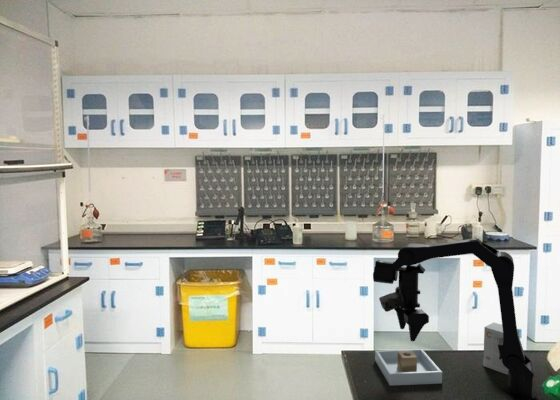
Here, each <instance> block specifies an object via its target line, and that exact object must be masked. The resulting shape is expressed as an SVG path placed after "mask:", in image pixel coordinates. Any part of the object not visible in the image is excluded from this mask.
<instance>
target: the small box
mask: <svg viewBox="0 0 560 400" xmlns="http://www.w3.org/2000/svg"><path fill="white" fill-rule="evenodd" d="M483 330H484V331H483V336H484V337H483V360H482V362H483V366H482V367H484V368H488V369H490V370H493V371H496V372H499V373H501V374H505V375H506V376H508V370H509V369H507V368H506V367H505V366H504V365H503V363H502V359H501V360H499V349H498V340H497V338H498V337H499V338H503V327H502V323H501V324H500V323H497V322H492V323H490V324H488V325H486V326H484V328H483ZM517 333H518V336H519V337H520V335H519V334H520V329H519V328H517Z"/></svg>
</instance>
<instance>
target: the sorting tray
mask: <svg viewBox="0 0 560 400" xmlns="http://www.w3.org/2000/svg"><path fill="white" fill-rule="evenodd" d="M398 351H412V352H413V353H414V354H415V355H416V357H417V372H401V371H400V370H399V368H398V367H397V361H398ZM374 357H375V358H374V360H375V363H376V365H377V367H378V368H379V370H380V371H381V374H382V375H383V376H384V378H385V380H386V382H387V384H388V385H389V386H409V385H410V386H413V385H415V386H416V385H434V384H435V385H437V384H442V383H443V371H442V370H441V369H440V368H439V366H438V365H436V363H435V362H434V361H433V360H432V358H431V357H430V356H429V355H428V353H426V352H425V350H424V349H423V348H411V349H385V350H384V349H383V350H382V349H381V350H375V352H374Z"/></svg>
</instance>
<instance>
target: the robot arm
mask: <svg viewBox="0 0 560 400" xmlns="http://www.w3.org/2000/svg"><path fill="white" fill-rule="evenodd" d="M471 254H472V255H474V256H475V257H477V258H478V259H479V260H480V261H481V262H483V263H484V264H485V265H487V266H488V267H489V268H490V269H491V273H492V275H493V280H494V281H495V282H494V283H495V284H496V287H497V291H498V292H497V293H498V302H499V309H500V317H501V325H502V327H503V338H499V337H498V338H497V340H498V349H499V360H501V359H502V363H503V365H504V366H505V367H506V368H507V369H509V370H508V375H507V385H503V386H502V389H503V390H504V391H505V392H506V393H507V394H508V395H509V396H510V397H511V398H513V400H537V399H538V396H537V395H536V394H534V392H533V383H534V379H533V378H534V375H535V374H534V368H533V362H532V360H531V359H530V358H529V357H528V356H527V355H526V354H525V351H524V349H523V347H524V346H523V344H522V342H521V339H520V335H519V336H518V333H517V329H518V327H517V320H516V310H515V302H514V292H513V284H514V275H515V261H514V258H513V257H512V255H511V254H510V253H508V252H506V251H499V250H497V249H496V248H494V247H493V246H491V245H489V244H487V243H485V242H483V241H482V240H480V239H479V238H477V237H471V238H469V239H462V240H455V241H448V242H441V243H440V242H439V243H434V244H426V243H412V242H411V243H410V242H409V243H406V244H404V245H403V246H402V247H401V248H400V249H399V251H398V253H397V258H395V259H394V261H385V260H380V259H377V260H376V261H375V262H374V263H375V264H374V265H375V266H374V269H373V273H372V279H373V282H375V283H380V284H389V285H393V284H394V282H397V280H398V286H396V287H395V292H390V293H389V294H388V293H387V294H385V295H381V296H380V297H378V298H379V302H380V305H381V308H382V309H383V310H384V312H386V313H387V312H391V311H393V310H394V311H395V313H396V316H397V320H398V324H399V325H398V326H399V329H401V330H404V329H405V328H406V325H408V330H409V339H410V342H415V341H416V340H417V337H418V336H419V334H420V333H421V331H422V329H423V328H424V327H425V325H427V324H428V323H430V316H429V315H428V314H427V313H426V312H425V311H424V310H423V309H422V308H421V304H420V303H419V302H418V301H419V295H421V290H420V289H419V274H422V275H424V274H425V272H426V269H425V268H424V266H423V265H421V263H423V262H425V261H428V260H432V259H439V258H447V257H448V258H449V257H455V256H456V257H457V256H464V255H471ZM404 266H405V267H404ZM420 308H421V309H420Z"/></svg>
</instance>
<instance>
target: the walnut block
mask: <svg viewBox="0 0 560 400" xmlns="http://www.w3.org/2000/svg"><path fill="white" fill-rule="evenodd" d="M397 367H398V368H399V370H400V371H401V372H417V357H416V355H415V354H414V353H413V352H412V351H398V361H397Z"/></svg>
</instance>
